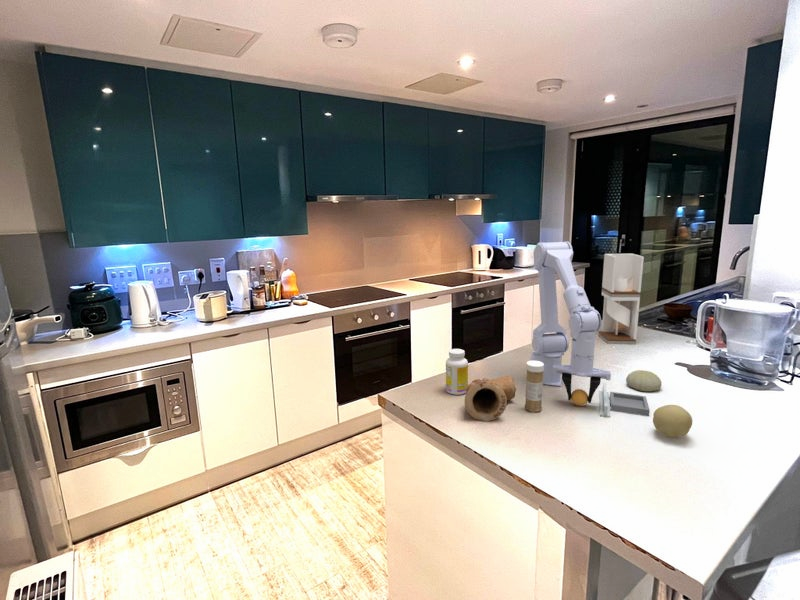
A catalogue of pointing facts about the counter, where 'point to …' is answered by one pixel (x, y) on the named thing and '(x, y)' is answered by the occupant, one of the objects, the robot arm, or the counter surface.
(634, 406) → the dish
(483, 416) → the clay pipe
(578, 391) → the ball
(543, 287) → the robot arm
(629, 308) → the tall curved cream stand
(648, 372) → the sea urchin shell
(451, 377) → the supplement bottle
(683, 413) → the potato
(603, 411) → the divider
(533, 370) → the sprinkles bottle
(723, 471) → the counter surface
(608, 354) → the counter surface
